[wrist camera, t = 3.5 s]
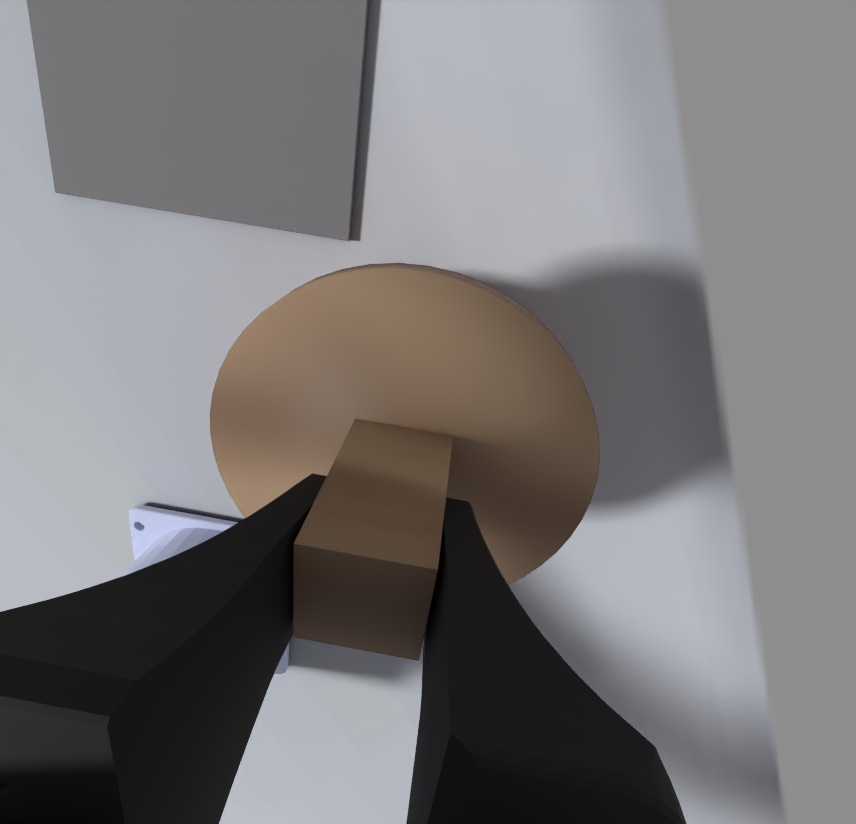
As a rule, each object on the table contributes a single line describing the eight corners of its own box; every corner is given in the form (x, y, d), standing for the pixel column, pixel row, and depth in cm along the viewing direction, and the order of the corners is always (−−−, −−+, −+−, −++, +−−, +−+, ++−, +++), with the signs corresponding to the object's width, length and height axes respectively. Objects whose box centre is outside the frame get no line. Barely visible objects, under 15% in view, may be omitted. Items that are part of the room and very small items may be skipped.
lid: (538, 607, 16) (560, 792, 12) (234, 551, 17) (134, 711, 12) (652, 303, 11) (776, 412, 6) (209, 229, 11) (13, 282, 7)
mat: (350, 240, 18) (348, 241, 17) (61, 192, 18) (55, 192, 18) (382, -176, 13) (381, -184, 13) (1, -231, 14) (-10, -240, 13)
